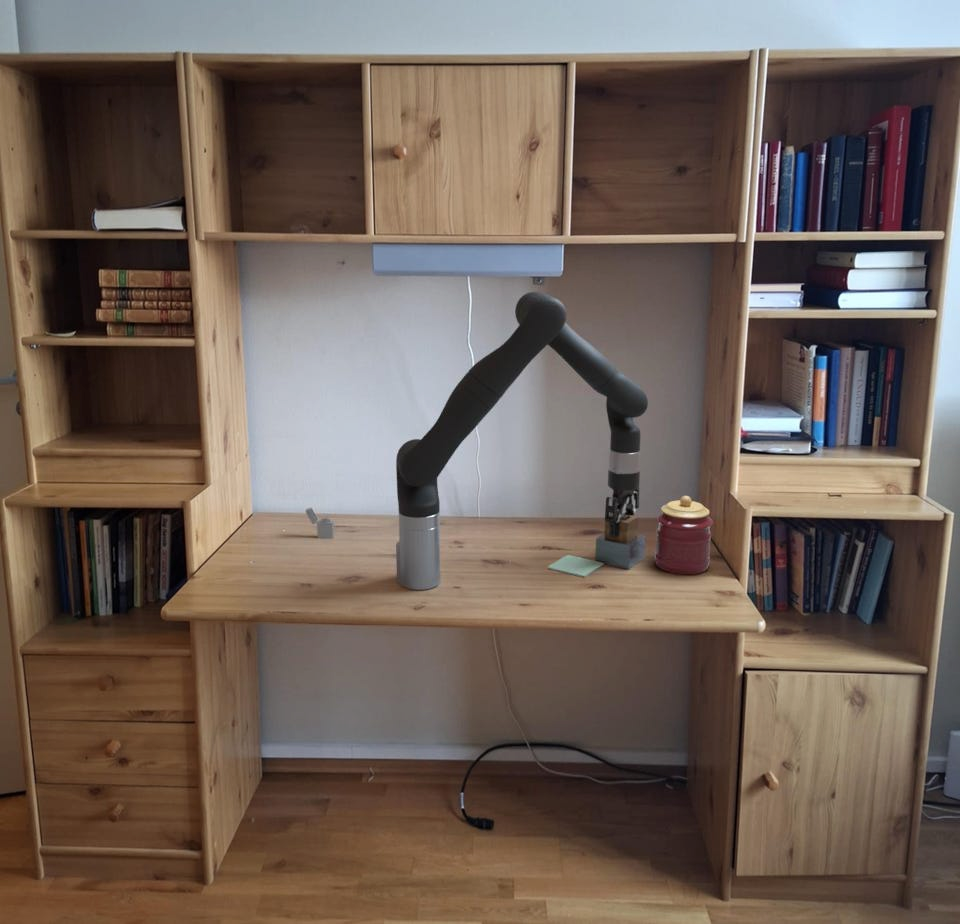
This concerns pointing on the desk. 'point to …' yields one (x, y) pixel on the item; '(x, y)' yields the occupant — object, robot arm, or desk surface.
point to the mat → (575, 565)
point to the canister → (683, 537)
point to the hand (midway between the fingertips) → (621, 532)
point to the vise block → (620, 550)
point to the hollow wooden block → (624, 529)
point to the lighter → (321, 525)
